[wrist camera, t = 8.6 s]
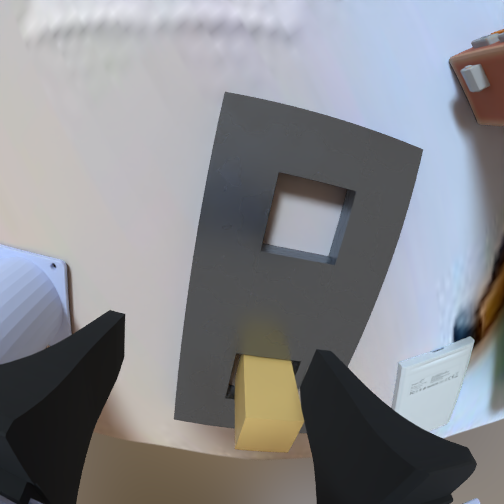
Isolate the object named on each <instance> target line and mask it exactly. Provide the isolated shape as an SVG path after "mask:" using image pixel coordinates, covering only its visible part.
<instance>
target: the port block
mask: <svg viewBox="0 0 504 504" xmlns="http://www.w3.org/2000/svg"><path fill="white" fill-rule="evenodd" d="M422 152H423V149H421V148H418V147H416V146H413V145H411V144H408V143H406V142H403V141H401V140H398V139H395V138H393V137H390V136H387V135H385V134H382V133H379V132H376V131H373V130H371V129H368V128H365V127H362V126H359V125H356V124H353V123H350V122H346V121H343V120H340V119H337V118H333V117H330V116H327V115H323V114H320V113H316V112H313V111H309V110H305V109H301V108H297V107H294V106H290V105H285V104H281V103H277V102H273V101H268V100H264V99H259V98H254V97H249V96H244V95H239V94H234V93H228V92H225V94H224V99H223V103H222V108H221V112H220V117H219V121H218V126H217V131H216V135H215V140H214V145H213V150H212V155H211V160H210V165H209V170H208V175H207V181H206V186H205V191H204V197H203V202H202V208H201V214H200V219H199V225H198V231H197V237H196V244H195V250H194V256H193V263H192V269H191V276H190V283H189V290H188V297H187V304H186V312H185V320H184V328H183V336H182V344H181V353H180V362H179V371H178V381H177V391H176V402H175V413H174V419H175V420H180V421H186V422H192V423H198V424H205V425H212V426H219V427H227V428H235V386H228V384H229V380H230V376H231V372H232V368H233V364H234V360H235V356H236V353H238V354H245V355H252V356H260V357H268V358H276V359H284V360H293V363H292V367H293V371H294V376H295V380H296V385H297V389H298V394H299V399H300V403H301V398H300V385H301V383H302V381H303V379H304V377H305V374H306V372H307V370H308V368H309V365H310V363H311V361H312V358H313V356H314V354H315V351H316V349H319V350H328V351H332V352H333V353H334V354H335V355H336V356H337V357H338V358H339V359H340V360H341V361H342V362H343V363H344V364H345V365H346V366H347V367H348V364H349V362H350V360H351V358H352V356H353V354H354V352H355V349H356V347H357V345H358V343H359V340H360V338H361V336H362V334H363V331H364V329H365V327H366V324H367V322H368V320H369V317H370V315H371V312H372V310H373V307H374V305H375V302H376V300H377V297H378V295H379V292H380V290H381V287H382V284H383V282H384V279H385V276H386V274H387V271H388V268H389V265H390V262H391V260H392V257H393V254H394V251H395V248H396V245H397V242H398V239H399V236H400V233H401V229H402V226H403V223H404V220H405V216H406V213H407V210H408V206H409V203H410V199H411V196H412V192H413V188H414V185H415V181H416V177H417V173H418V169H419V165H420V161H421V156H422ZM279 172H281V173H285V174H290V175H294V176H298V177H303V178H307V179H311V180H315V181H319V182H323V183H327V184H331V185H335V186H338V187H342V188H346V189H347V193H346V197H345V200H344V204H343V208H342V211H341V215H340V219H339V222H338V226H337V229H336V233H335V236H334V240H333V243H332V246H331V250H330V253H329V256H324V255H319V254H314V253H309V252H303V251H298V250H293V249H288V248H283V247H278V246H272V245H267V244H262V242H263V238H264V234H265V229H266V225H267V221H268V217H269V212H270V208H271V204H272V199H273V195H274V191H275V186H276V182H277V178H278V173H279ZM299 433H307V431H306V427H305V422H304V423H303V425H302V427H301V429H300V431H299Z"/></svg>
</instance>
